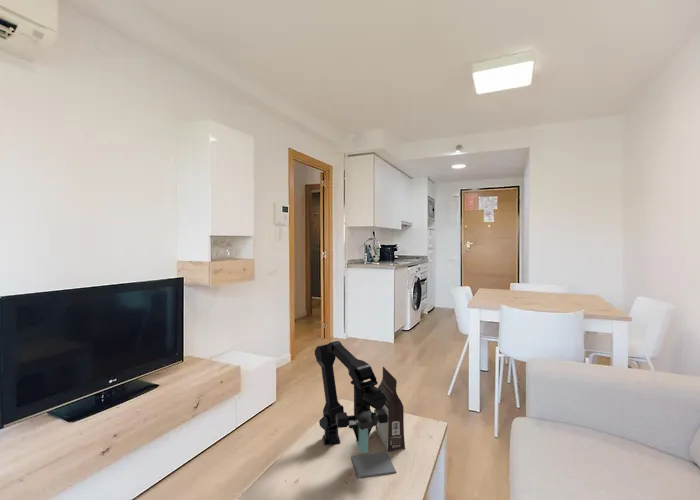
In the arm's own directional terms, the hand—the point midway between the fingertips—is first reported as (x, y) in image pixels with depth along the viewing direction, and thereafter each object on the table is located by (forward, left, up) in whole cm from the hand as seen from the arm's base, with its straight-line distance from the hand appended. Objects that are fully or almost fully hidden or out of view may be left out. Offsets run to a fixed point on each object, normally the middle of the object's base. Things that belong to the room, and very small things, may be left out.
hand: (361, 440), depth 129 cm
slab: (0, 0, -3) cm, 3 cm away
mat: (0, +4, -10) cm, 11 cm away
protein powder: (-15, +15, -10) cm, 23 cm away
